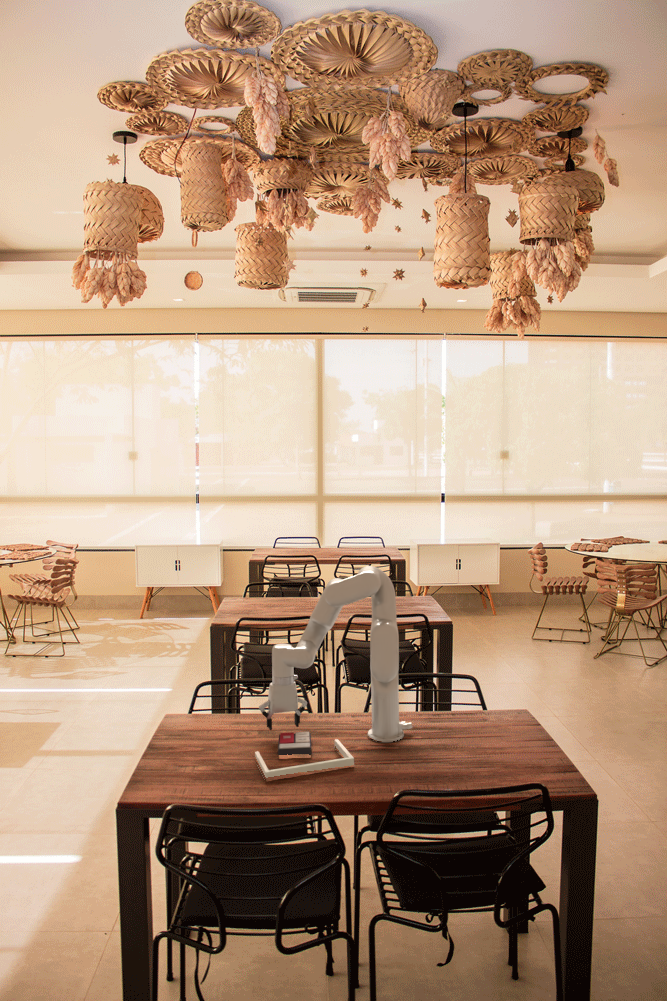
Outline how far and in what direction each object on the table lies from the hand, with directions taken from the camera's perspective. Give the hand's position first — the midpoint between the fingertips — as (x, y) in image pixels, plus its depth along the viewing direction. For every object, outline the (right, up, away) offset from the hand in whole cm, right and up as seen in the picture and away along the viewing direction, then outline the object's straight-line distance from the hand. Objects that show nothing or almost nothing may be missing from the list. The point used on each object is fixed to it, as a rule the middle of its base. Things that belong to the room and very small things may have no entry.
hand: (283, 727), depth 251 cm
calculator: (+5, -4, -11) cm, 13 cm away
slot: (+8, -4, -23) cm, 24 cm away
